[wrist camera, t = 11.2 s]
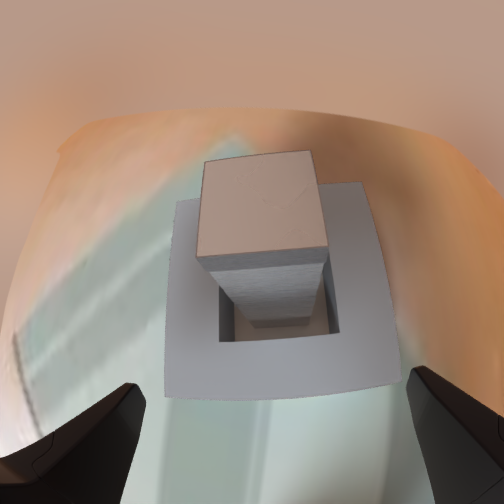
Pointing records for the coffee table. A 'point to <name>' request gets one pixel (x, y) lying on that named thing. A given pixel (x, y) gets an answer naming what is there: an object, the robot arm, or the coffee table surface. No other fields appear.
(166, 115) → the coffee table surface
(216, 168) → the metal bar
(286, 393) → the square well
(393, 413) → the coffee table surface
